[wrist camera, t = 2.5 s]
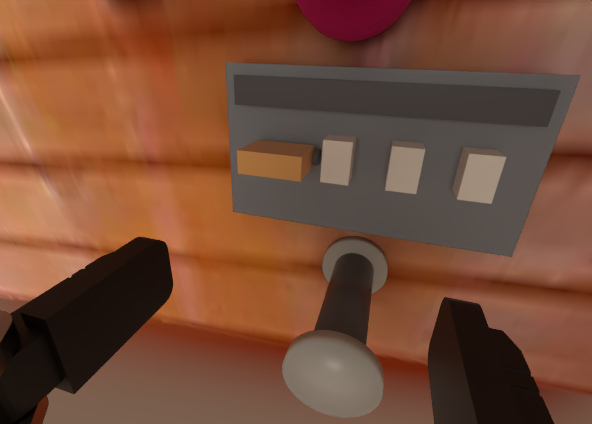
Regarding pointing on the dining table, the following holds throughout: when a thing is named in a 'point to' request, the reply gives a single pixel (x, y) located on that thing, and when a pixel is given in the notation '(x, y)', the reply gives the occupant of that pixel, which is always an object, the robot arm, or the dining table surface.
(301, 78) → the breaker panel
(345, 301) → the grey-capped dumbbell
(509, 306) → the dining table surface
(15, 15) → the dining table surface
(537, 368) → the dining table surface
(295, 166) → the main breaker lever
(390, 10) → the pepper mill
